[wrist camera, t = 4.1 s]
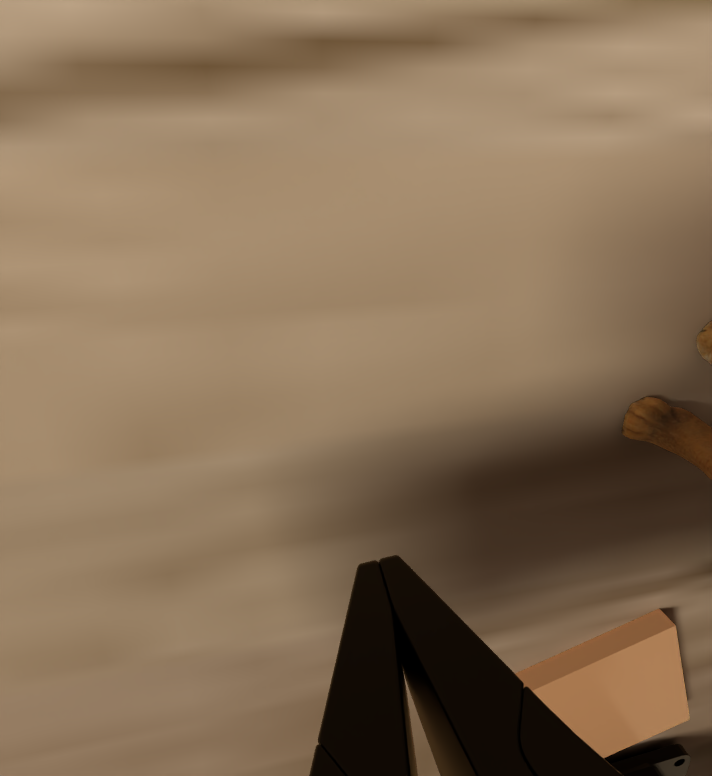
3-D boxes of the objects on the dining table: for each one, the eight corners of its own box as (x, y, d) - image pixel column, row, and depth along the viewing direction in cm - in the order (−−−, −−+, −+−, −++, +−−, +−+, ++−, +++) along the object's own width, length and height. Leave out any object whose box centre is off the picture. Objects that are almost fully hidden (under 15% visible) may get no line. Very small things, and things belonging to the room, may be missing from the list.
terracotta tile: (664, 687, 17) (689, 719, 16) (531, 747, 18) (548, 782, 16) (647, 596, 15) (675, 625, 14) (494, 665, 15) (510, 700, 14)
